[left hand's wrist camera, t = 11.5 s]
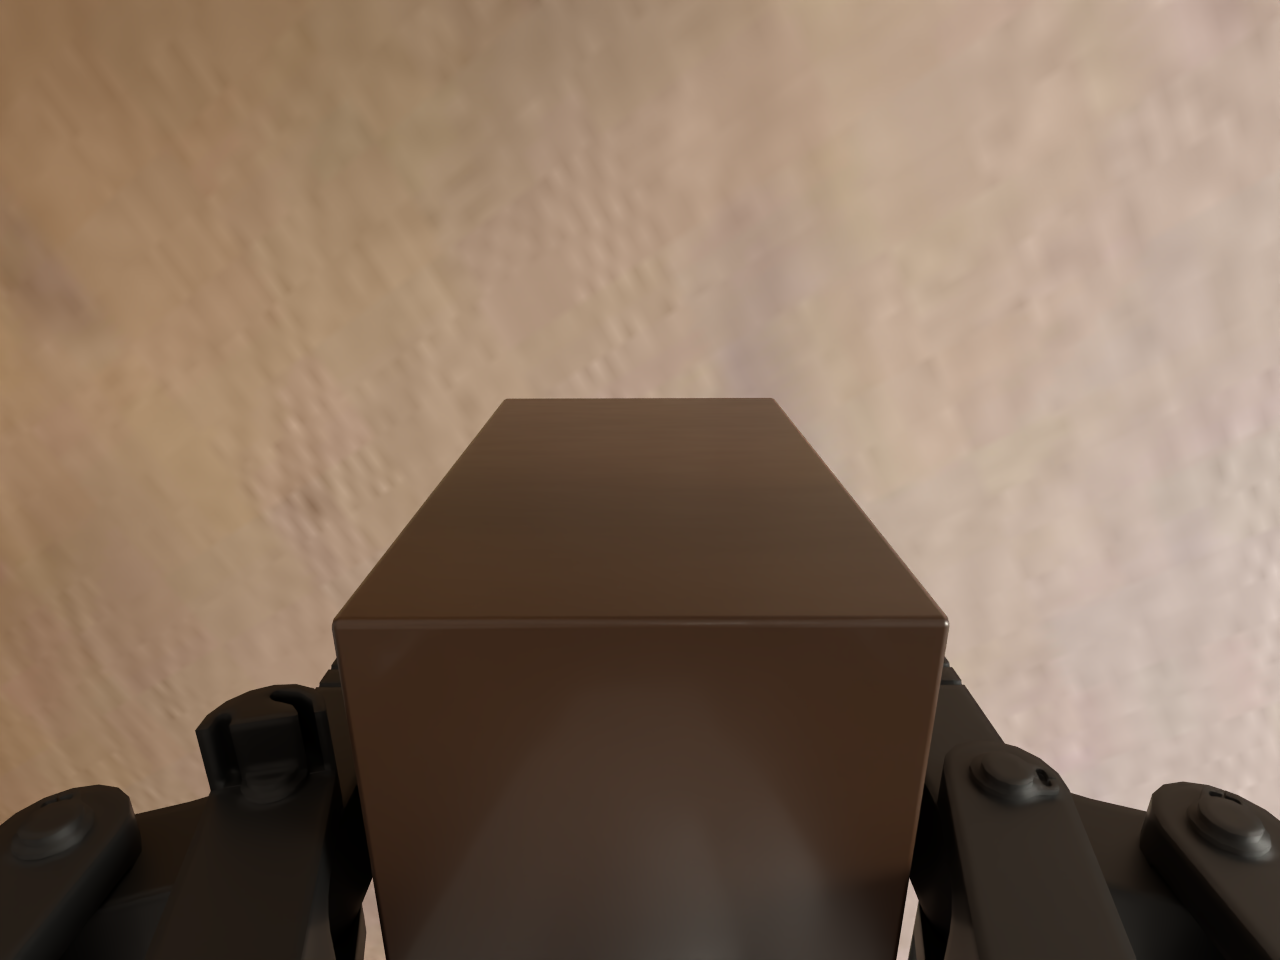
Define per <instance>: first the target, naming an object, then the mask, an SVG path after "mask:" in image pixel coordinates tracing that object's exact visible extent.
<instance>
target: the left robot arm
mask: <svg viewBox="0 0 1280 960" xmlns="http://www.w3.org/2000/svg"><path fill="white" fill-rule="evenodd" d="M331 666H332V667H331V670H328V671H327V673H326V674H325V676H324V677H323V679H322V680H321V681H320V685H319V687H316V689H314V688H310V687H306V686H302V685H298V684H288V685H272V686H268V687H264V688H260V689H256V690H251V691H249V692H246V693H244V694H242V695H240V696H237V697H235V698H233V699H231V700H228V701H226V702H225V703H223V704H222V705H221V706H219V707H218V708H216V709H215V710H214V711H212V712H211V713H209V714H208V715H207V716H206V717H205V719H204V720H203V721H202V722H201V724H200V725H199V726H198V728H197V729H196V730H195V732H196V735H197V739H198V743H199V747H200V751H201V755H202V758H203V762H204V766H205V770H206V774H207V778H208V781H209V785H210V789H211V792H210V794H209V796H208V797H204V798H201V799H198V800H194V801H191V802H187V803H183V804H178V805H174V806H170V807H165V808H161V809H157V810H152V811H148V812H143V813H139V814H134V811H133V808H132V805H131V801H130V798H129V796H127V795H126V794H125V793H124V792H123V791H122V790H120V789H119V788H117V787H111V786H104V785H92V786H85V787H78V788H72V789H69V790H66V791H63V792H60V793H58V794H54V795H52V796H49V797H46V798H43V799H42V800H40V801H38V802H36V803H34V804H32V805H30V806H28V807H27V808H25V809H23V810H21V811H19V812H17V813H16V814H14V815H13V816H12V817H10V818H9V819H8V820H7V821H5V822H4V823H3V824H1V825H0V960H364V950H365V940H366V927H365V920H364V913H363V908H362V902H363V900H364V897H365V895H366V892H367V890H368V887H369V885H370V882H371V880H372V877H373V876H372V870H371V864H370V858H369V852H368V846H367V840H366V833H365V827H364V821H363V815H362V809H361V803H360V797H359V791H358V785H357V778H356V772H355V766H354V760H353V754H352V748H351V742H350V736H349V730H348V724H347V717H346V711H345V705H344V699H343V693H342V687H341V681H340V675H339V669H338V662H337V658H336V660H335V661H334V662H333V664H332V665H331ZM909 878H910V880H911V883H912V885H913V887H914V890H915V892H916V895H917V897H918V900H919V902H918V908H917V913H916V919H915V924H914V930H913V935H912V941H911V946H910V952H909V957H908V960H1280V821H1279V820H1278V819H1277V818H1275V817H1274V816H1273V815H1272V814H1270V813H1269V812H1268V811H1266V810H1265V809H1263V808H1261V807H1259V806H1257V805H1255V804H1253V803H1252V802H1250V801H1248V800H1246V799H1244V798H1242V797H1240V796H1238V795H1236V794H1233V793H1230V792H1228V791H1224V790H1222V789H1218V788H1215V787H1212V786H1209V785H1204V784H1196V783H1189V782H1177V783H1171V784H1164V785H1162V786H1161V787H1160V788H1159V789H1158V790H1156V791H1155V792H1154V793H1153V794H1152V797H1151V800H1150V803H1149V806H1148V810H1147V812H1146V811H1141V810H1137V809H1133V808H1128V807H1124V806H1120V805H1115V804H1111V803H1106V802H1102V801H1098V800H1093V799H1089V798H1086V797H1083V796H1079V795H1076V794H1073V793H1070V791H1069V789H1068V787H1067V786H1066V784H1065V783H1064V781H1063V780H1062V778H1061V777H1060V775H1059V774H1058V773H1057V772H1056V771H1055V770H1054V769H1052V768H1051V767H1050V766H1049V765H1047V764H1046V763H1045V762H1044V761H1042V760H1041V759H1040V758H1038V757H1036V756H1034V755H1032V754H1030V753H1028V752H1026V751H1024V750H1022V749H1020V748H1018V747H1015V746H1012V745H1008V744H1005V743H1004V742H1003V740H1002V739H1001V737H1000V736H999V734H998V733H997V732H996V730H995V729H994V727H993V726H992V724H991V723H990V721H989V720H988V718H987V717H986V716H985V714H984V713H983V711H982V710H981V708H980V707H979V705H978V704H977V703H976V701H975V700H974V698H973V697H972V695H971V694H970V692H969V691H968V689H967V688H966V687H965V685H962V684H961V679H960V678H959V676H958V675H957V673H956V672H955V671H954V669H953V668H952V667H950V666H949V662H948V660H947V659H946V658H945V656H944V662H943V669H942V675H941V681H940V688H939V694H938V700H937V706H936V713H935V719H934V725H933V732H932V738H931V744H930V750H929V757H928V763H927V769H926V776H925V782H924V788H923V795H922V801H921V807H920V813H919V820H918V826H917V832H916V839H915V845H914V851H913V857H912V864H911V870H910V876H909Z"/></svg>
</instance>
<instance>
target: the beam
mask: <svg viewBox="0 0 1280 960" xmlns="http://www.w3.org/2000/svg"><path fill="white" fill-rule="evenodd" d="M948 631H949V621H948V618H947V616H946V615H945V613H944V612H943V611H942V610H941V608H940V607H939V606H938V605H937V603H936V602H935V601H934V600H933V598H932V597H931V596H930V595H929V593H928V592H927V591H926V590H925V588H924V587H923V586H922V585H921V583H920V582H919V581H918V580H917V578H916V577H915V576H914V575H913V573H912V572H911V571H910V569H909V568H908V567H907V566H906V564H905V563H904V562H903V561H902V559H901V558H900V557H899V556H898V554H897V553H896V552H895V551H894V549H893V548H892V547H891V546H890V544H889V543H888V542H887V541H886V539H885V538H884V537H883V536H882V534H881V533H880V532H879V531H878V529H877V528H876V527H875V525H874V524H873V523H872V522H871V520H870V519H869V518H868V517H867V515H866V514H865V513H864V512H863V510H862V509H861V508H860V507H859V505H858V504H857V503H856V502H855V500H854V499H853V498H852V497H851V495H850V494H849V493H848V492H847V490H846V489H845V488H844V487H843V485H842V484H841V483H840V481H839V480H838V479H837V478H836V476H835V475H834V474H833V473H832V471H831V470H830V469H829V468H828V466H827V465H826V464H825V463H824V461H823V460H822V459H821V458H820V456H819V455H818V454H817V453H816V451H815V450H814V449H813V448H812V446H811V445H810V444H809V443H808V441H807V440H806V439H805V437H804V436H803V435H802V434H801V432H800V431H799V430H798V429H797V427H796V426H795V425H794V424H793V422H792V421H791V420H790V419H789V417H788V416H787V415H786V414H785V412H784V411H783V410H782V409H781V407H780V406H779V405H778V404H777V402H776V401H775V400H774V399H772V398H632V399H506V400H504V401H503V402H502V404H501V405H500V406H499V407H498V409H497V410H496V411H495V413H494V414H493V415H492V416H491V418H490V419H489V420H488V422H487V423H486V424H485V425H484V427H483V428H482V429H481V431H480V432H479V433H478V434H477V436H476V437H475V438H474V440H473V441H472V442H471V443H470V445H469V446H468V447H467V449H466V450H465V451H464V452H463V454H462V455H461V456H460V458H459V459H458V460H457V461H456V463H455V464H454V465H453V467H452V468H451V469H450V470H449V472H448V473H447V474H446V476H445V477H444V478H443V479H442V481H441V482H440V483H439V485H438V486H437V487H436V488H435V490H434V491H433V492H432V494H431V495H430V496H429V497H428V499H427V500H426V501H425V503H424V504H423V505H422V506H421V508H420V509H419V510H418V512H417V513H416V514H415V515H414V517H413V518H412V519H411V520H410V522H409V523H408V524H407V526H406V527H405V528H404V529H403V531H402V532H401V533H400V535H399V536H398V537H397V538H396V540H395V541H394V542H393V544H392V545H391V546H390V547H389V549H388V550H387V551H386V553H385V554H384V555H383V556H382V558H381V559H380V560H379V562H378V563H377V564H376V565H375V567H374V568H373V569H372V571H371V572H370V573H369V574H368V576H367V577H366V578H365V580H364V581H363V582H362V583H361V585H360V586H359V587H358V589H357V590H356V591H355V592H354V594H353V595H352V596H351V598H350V599H349V600H348V601H347V603H346V604H345V605H344V607H343V608H342V609H341V610H340V612H339V613H338V614H337V616H336V617H335V618H334V620H333V623H332V632H333V638H334V644H335V650H336V656H337V662H338V669H339V675H340V681H341V687H342V693H343V699H344V705H345V711H346V717H347V724H348V730H349V736H350V742H351V748H352V754H353V760H354V766H355V772H356V778H357V785H358V791H359V797H360V803H361V809H362V815H363V821H364V827H365V833H366V840H367V846H368V852H369V858H370V864H371V870H372V876H373V882H374V888H375V895H376V901H377V907H378V913H379V919H380V925H381V931H382V937H383V943H384V949H385V956H386V960H896V958H897V952H898V945H899V939H900V933H901V927H902V920H903V914H904V908H905V901H906V895H907V889H908V883H909V876H910V870H911V864H912V857H913V851H914V845H915V839H916V832H917V826H918V820H919V813H920V807H921V801H922V795H923V788H924V782H925V776H926V769H927V763H928V757H929V750H930V744H931V738H932V732H933V725H934V719H935V713H936V706H937V700H938V694H939V688H940V681H941V675H942V669H943V662H944V656H945V650H946V644H947V637H948Z"/></svg>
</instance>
